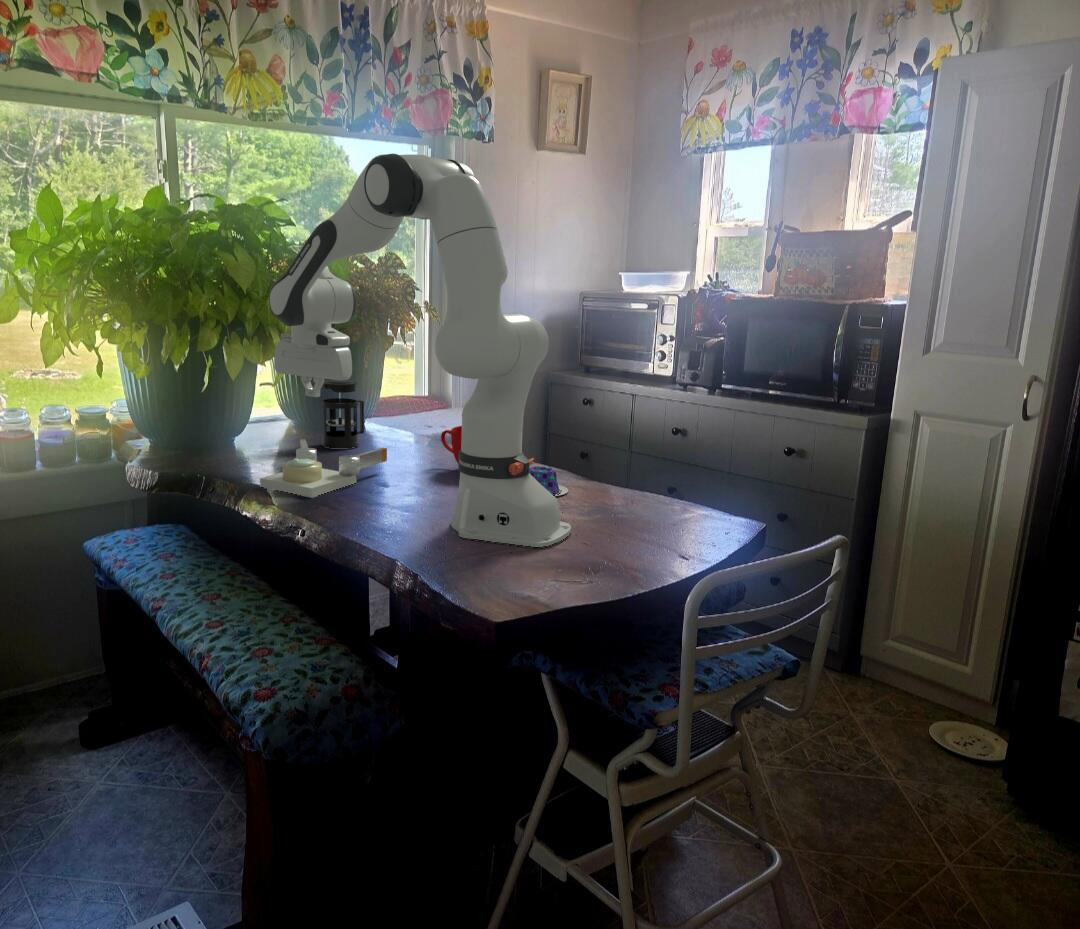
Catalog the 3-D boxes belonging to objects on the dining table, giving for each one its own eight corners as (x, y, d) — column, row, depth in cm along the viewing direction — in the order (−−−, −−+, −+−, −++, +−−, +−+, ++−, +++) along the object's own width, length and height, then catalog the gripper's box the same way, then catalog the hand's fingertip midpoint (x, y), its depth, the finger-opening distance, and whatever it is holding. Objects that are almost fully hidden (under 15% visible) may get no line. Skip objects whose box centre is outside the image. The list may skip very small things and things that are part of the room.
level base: (356, 483, 176) (356, 455, 175) (312, 497, 164) (311, 467, 162) (306, 474, 182) (305, 446, 181) (260, 487, 170) (259, 458, 168)
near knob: (351, 477, 172) (350, 460, 172) (334, 474, 174) (334, 457, 173) (392, 464, 185) (392, 448, 184) (377, 461, 187) (376, 446, 186)
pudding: (542, 503, 169) (543, 478, 167) (501, 491, 176) (502, 467, 175) (579, 493, 177) (580, 470, 176) (539, 482, 185) (540, 460, 184)
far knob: (317, 467, 179) (317, 451, 178) (297, 468, 178) (296, 452, 177) (312, 453, 192) (312, 438, 192) (293, 453, 191) (293, 438, 190)
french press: (329, 451, 205) (327, 360, 200) (313, 444, 212) (311, 356, 207) (371, 446, 212) (370, 359, 207) (354, 440, 219) (353, 355, 214)
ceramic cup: (456, 460, 202) (457, 420, 199) (515, 470, 194) (516, 429, 192) (425, 470, 190) (426, 428, 188) (486, 481, 183) (487, 438, 181)
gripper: (266, 333, 185) (268, 393, 188) (337, 339, 176) (338, 402, 179) (286, 332, 190) (288, 390, 193) (355, 338, 182) (356, 399, 185)
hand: (313, 396), depth 186 cm, fingers closed
